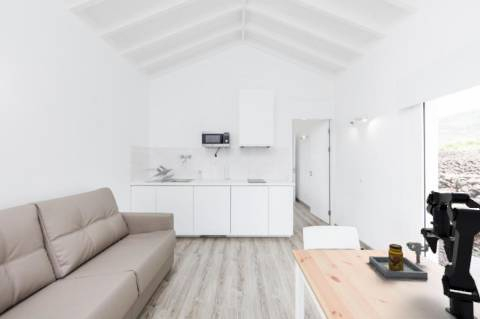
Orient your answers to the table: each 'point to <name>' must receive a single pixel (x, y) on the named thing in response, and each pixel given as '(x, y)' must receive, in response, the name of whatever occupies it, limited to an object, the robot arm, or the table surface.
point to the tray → (410, 271)
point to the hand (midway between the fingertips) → (442, 257)
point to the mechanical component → (417, 249)
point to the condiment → (395, 258)
